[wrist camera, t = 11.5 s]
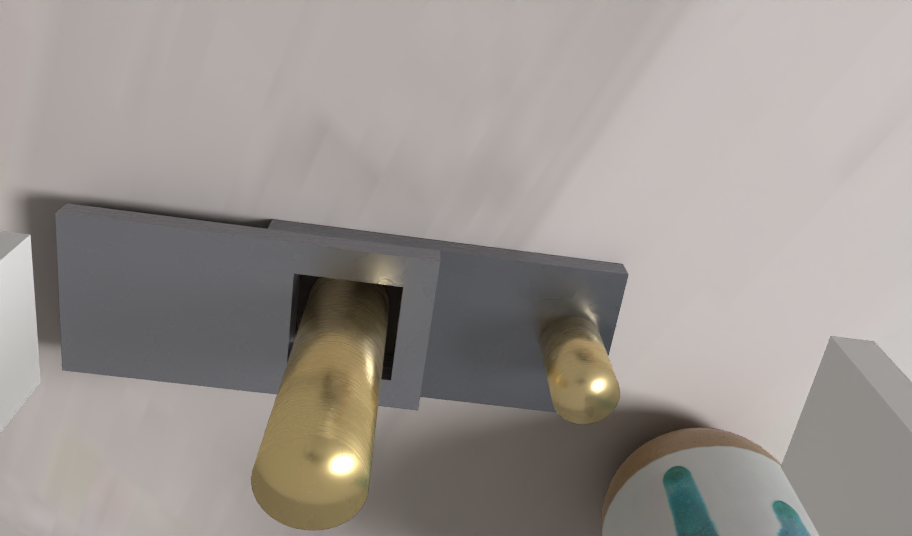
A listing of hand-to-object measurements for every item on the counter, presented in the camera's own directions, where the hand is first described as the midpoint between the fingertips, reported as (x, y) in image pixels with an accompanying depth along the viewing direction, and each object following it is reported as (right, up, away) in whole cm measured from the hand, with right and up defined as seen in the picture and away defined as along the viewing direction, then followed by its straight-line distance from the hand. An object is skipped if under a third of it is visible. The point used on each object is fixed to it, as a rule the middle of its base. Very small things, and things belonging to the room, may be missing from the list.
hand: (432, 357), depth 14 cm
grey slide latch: (-5, 0, +28) cm, 28 cm away
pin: (-5, 0, +28) cm, 28 cm away
